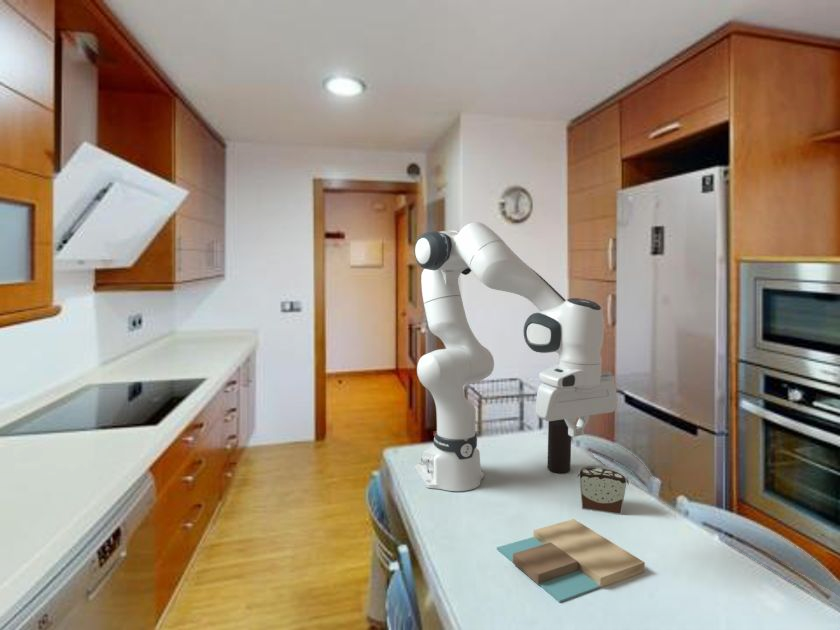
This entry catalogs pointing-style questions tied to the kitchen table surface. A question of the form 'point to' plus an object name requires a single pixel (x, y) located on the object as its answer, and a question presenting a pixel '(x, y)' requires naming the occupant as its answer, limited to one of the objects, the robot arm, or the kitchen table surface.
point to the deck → (591, 552)
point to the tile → (545, 562)
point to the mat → (559, 586)
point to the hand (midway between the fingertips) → (575, 435)
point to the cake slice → (602, 488)
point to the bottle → (559, 447)
